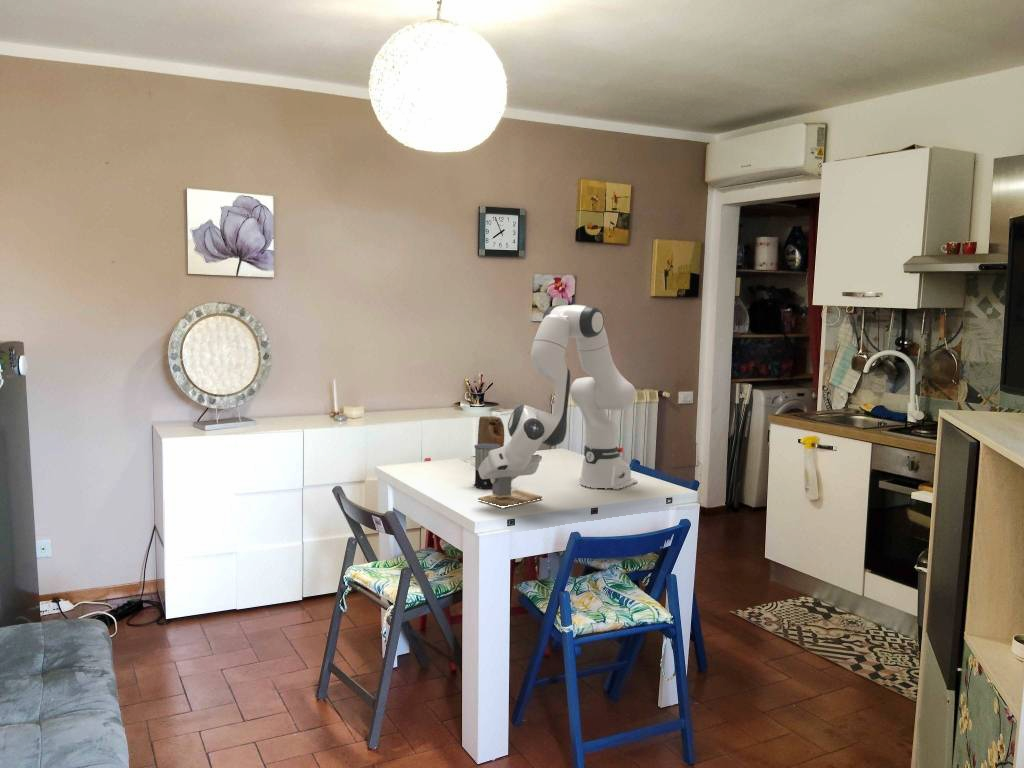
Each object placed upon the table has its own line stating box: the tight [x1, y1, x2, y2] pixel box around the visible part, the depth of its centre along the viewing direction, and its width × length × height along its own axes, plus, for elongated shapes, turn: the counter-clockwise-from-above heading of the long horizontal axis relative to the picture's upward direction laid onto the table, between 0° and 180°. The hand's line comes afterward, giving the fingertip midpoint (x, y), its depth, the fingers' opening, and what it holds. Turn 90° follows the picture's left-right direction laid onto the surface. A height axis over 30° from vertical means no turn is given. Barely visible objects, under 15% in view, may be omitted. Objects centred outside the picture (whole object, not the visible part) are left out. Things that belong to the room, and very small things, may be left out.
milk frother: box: [473, 443, 500, 490], centre depth 296 cm, size 14×16×15 cm
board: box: [477, 489, 543, 506], centre depth 273 cm, size 18×12×1 cm, turn 134°
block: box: [477, 415, 505, 448], centre depth 325 cm, size 11×8×20 cm
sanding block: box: [491, 477, 512, 498], centre depth 271 cm, size 4×4×9 cm
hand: (500, 480), depth 272 cm, fingers closed on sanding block, 4 cm apart
